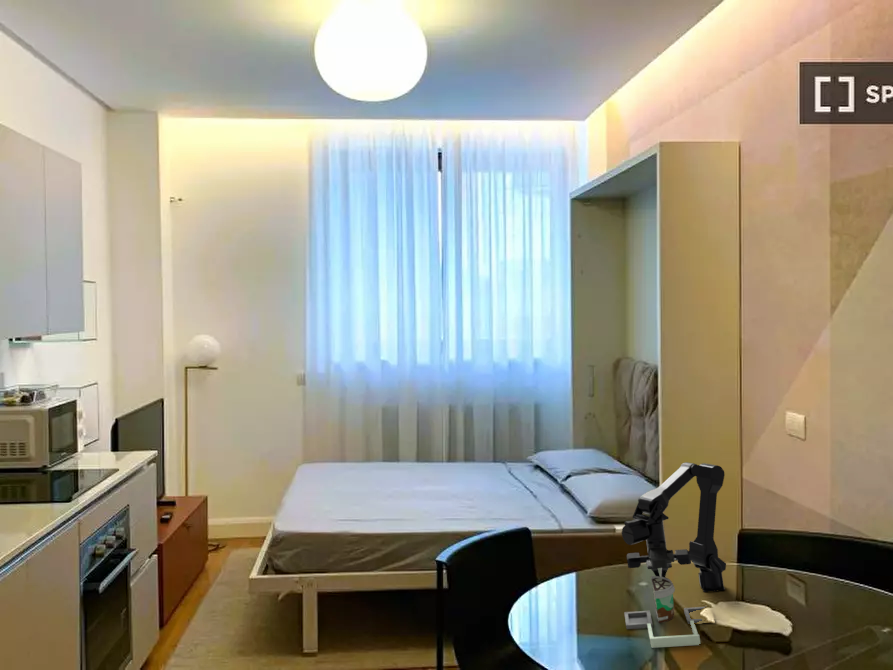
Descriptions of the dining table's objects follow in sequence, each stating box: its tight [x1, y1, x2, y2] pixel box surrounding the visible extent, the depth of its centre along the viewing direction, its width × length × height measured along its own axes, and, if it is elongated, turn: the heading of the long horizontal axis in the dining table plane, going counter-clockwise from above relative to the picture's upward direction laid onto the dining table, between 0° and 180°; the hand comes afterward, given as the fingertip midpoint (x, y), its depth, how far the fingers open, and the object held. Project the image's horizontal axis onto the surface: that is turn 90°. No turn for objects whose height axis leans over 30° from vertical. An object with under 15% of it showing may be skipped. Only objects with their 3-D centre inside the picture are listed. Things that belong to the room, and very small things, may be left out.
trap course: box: [623, 606, 706, 649], centre depth 215 cm, size 25×22×2 cm
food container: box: [650, 575, 676, 624], centre depth 223 cm, size 12×6×10 cm, turn 170°
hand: (661, 585), depth 231 cm, fingers closed
